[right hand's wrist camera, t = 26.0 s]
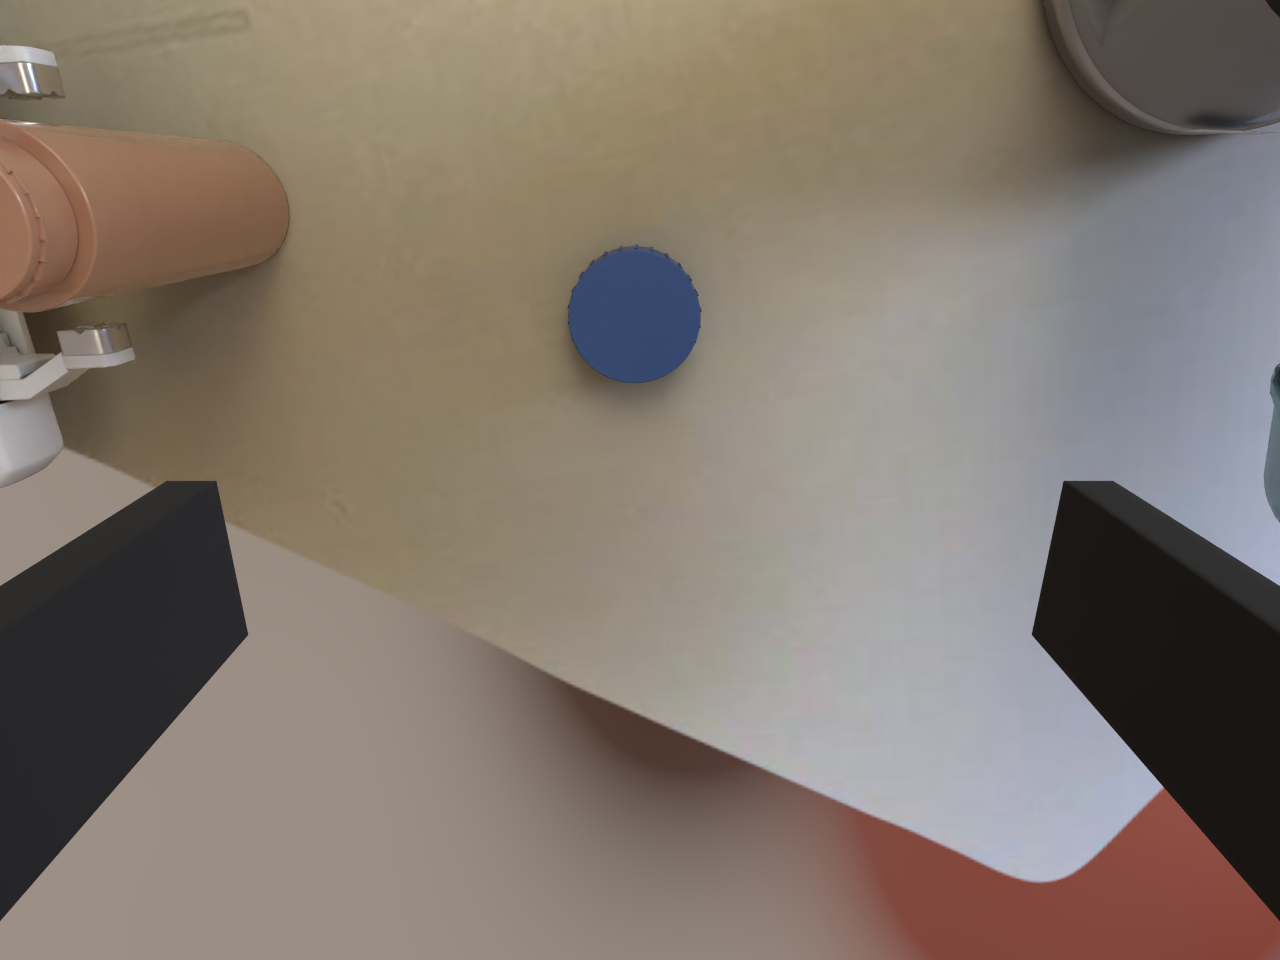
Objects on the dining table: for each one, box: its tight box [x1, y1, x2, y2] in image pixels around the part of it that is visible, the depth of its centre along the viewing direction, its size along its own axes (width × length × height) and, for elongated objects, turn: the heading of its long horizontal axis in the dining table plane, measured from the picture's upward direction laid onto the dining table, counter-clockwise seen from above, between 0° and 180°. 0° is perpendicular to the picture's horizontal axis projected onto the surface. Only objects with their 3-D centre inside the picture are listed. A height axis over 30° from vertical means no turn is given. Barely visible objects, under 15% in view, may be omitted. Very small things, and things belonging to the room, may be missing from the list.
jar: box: [0, 118, 289, 312], centre depth 28 cm, size 5×5×15 cm
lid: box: [568, 245, 701, 383], centre depth 35 cm, size 6×6×2 cm
